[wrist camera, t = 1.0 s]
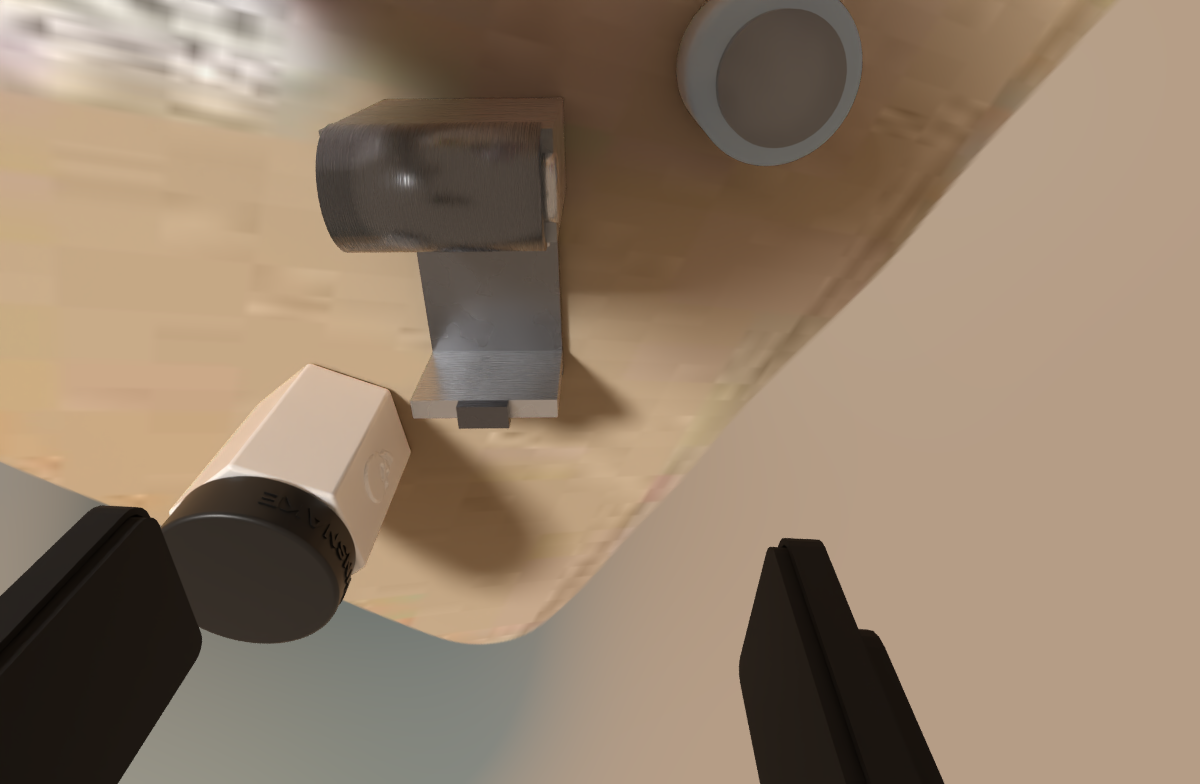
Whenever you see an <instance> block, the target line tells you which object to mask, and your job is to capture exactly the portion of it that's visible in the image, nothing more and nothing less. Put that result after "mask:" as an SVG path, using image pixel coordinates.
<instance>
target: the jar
mask: <svg viewBox="0 0 1200 784" xmlns="http://www.w3.org/2000/svg"><path fill="white" fill-rule="evenodd" d="M410 454H411V451H410V448H409V445H408V442H407V439H406V436H405V433H404V430H403V427H402V424H401V422H400V419H399V416H398V413H397V410H396V407H395V404H394V401H393V398H392V396H391V393H390V391H389V390H388V389H386V388H383V387H380V386H377V385H374V384H371V383H368V382H365V381H362V380H359V379H356V378H353V377H350V376H347V375H344V374H341V373H338V372H335V371H332V370H329V369H326V368H323V367H320V366H317V365H314V364H307V365H306V366H304V367H303V368H302V369H301V370H299V371H298V372H297V373H296V374H295V375H293V376H292V377H291V378H290V379H288V380H287V381H286V382H285V383H283V384H282V385H281V386H280V387H278V388H277V389H276V390H275V391H274V392H272V393H271V394H270V395H269V396H267V397H266V398H265V399H264V400H262V401H261V402H260V403H259V404H258V405H257V406H256V407H255V408H254V409H253V411H252V412H251V413H250V414H249V416H248V417H247V418H246V419H245V420H244V422H243V423H242V424H241V425H240V426H239V428H238V429H237V430H236V431H235V432H234V434H233V435H232V436H231V437H230V438H229V440H228V441H227V442H226V443H225V444H224V446H223V447H222V448H221V449H220V450H219V452H218V453H217V454H216V455H215V456H214V458H213V459H212V460H211V461H210V462H209V464H208V465H207V466H206V467H205V468H204V470H203V471H202V472H201V473H200V474H199V476H198V477H197V478H196V479H195V480H194V482H193V483H192V484H191V485H190V486H189V488H188V489H187V490H186V491H185V492H184V494H183V495H182V496H181V497H180V498H179V500H178V501H177V502H176V503H175V505H174V506H173V507H172V508H171V509H170V511H169V515H170V517H169V518H168V519H167V520H166V521H165V523H164V524H163V525H162V526H161V527H160V528H161V530H162V533H163V536H164V538H165V541H166V543H167V546H168V549H169V551H170V554H171V556H172V559H173V562H174V564H175V567H176V569H177V572H178V575H179V577H180V580H181V583H182V585H183V588H184V590H185V593H186V596H187V598H188V601H189V603H190V606H191V609H192V611H193V614H194V616H195V619H196V622H197V624H198V627H200V628H202V629H205V630H207V631H209V632H211V633H214V634H217V635H220V636H223V637H226V638H230V639H234V640H238V641H244V642H251V643H269V644H270V643H283V642H289V641H294V640H298V639H301V638H304V637H306V636H309V635H311V634H313V633H315V632H316V631H318V630H319V629H321V628H322V627H323V626H325V625H326V624H327V623H328V622H329V621H330V619H331V618H332V617H333V615H334V614H335V612H336V610H337V607H338V605H339V604H340V603H341V602H342V600H343V598H344V596H345V593H346V591H347V588H348V586H349V583H350V581H351V578H350V577H351V575H353V574H354V573H356V572H357V571H359V570H361V569H362V568H364V567H365V565H366V563H367V560H368V558H369V555H370V553H371V550H372V548H373V545H374V543H375V541H376V538H377V536H378V533H379V531H380V528H381V526H382V523H383V521H384V518H385V516H386V513H387V511H388V509H389V506H390V504H391V501H392V499H393V496H394V494H395V491H396V489H397V486H398V484H399V482H400V479H401V477H402V474H403V472H404V469H405V467H406V464H407V462H408V459H409V457H410Z"/></svg>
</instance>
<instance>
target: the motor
mask: <svg viewBox="0 0 1200 784" xmlns="http://www.w3.org/2000/svg"><path fill="white" fill-rule="evenodd" d="M319 135H320V138H319V142H318V146H317V153H316V183H317V191H318V198H319V203H320V208H321V211H322V215H323V218H324V221H325V224H326V227H327V229H328V232H329V234H330V236H331V238H332V239H333V241H334V243H335V244H336V245H337V246H338V247H339V248H340V249H341V250H342V251H344V252H347V253H358V252H417V256H418V263H419V269H420V275H421V281H422V288H423V294H424V300H425V306H426V313H427V319H428V325H429V331H430V337H431V344H432V350H433V352H432V355H431V357H430V359H429V361H428V363H427V365H426V367H425V370H424V372H423V374H422V376H421V378H420V380H419V382H418V385H417V387H416V389H415V391H414V393H413V395H412V398H411V400H410V404H411V409H412V415H413V418H458V425H459V429H461V428H509V427H510V422H511V419H510V418H530V417H558V411H559V401H560V390H561V380H562V375H563V348H562V324H561V301H560V277H559V253H558V235H559V229H560V223H561V217H562V211H563V205H564V199H565V193H566V169H565V139H564V110H563V98H469V99H384V100H382V101H380V102H378V103H375V104H373V105H371V106H369V107H367V108H365V109H363V110H361V111H359V112H356V113H354V114H352V115H350V116H348V117H346V118H344V119H342V120H340V121H338V122H335V123H332V124H328V125H327V126H326V127H325V128H323V129H321V130H319Z"/></svg>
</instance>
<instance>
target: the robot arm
mask: <svg viewBox="0 0 1200 784" xmlns="http://www.w3.org/2000/svg"><path fill="white" fill-rule="evenodd" d="M201 645H202V636H201V632H200V629H199V627H198V624H197V622H196V619H195V616H194V614H193V611H192V609H191V606H190V603H189V601H188V598H187V596H186V593H185V590H184V588H183V585H182V583H181V580H180V577H179V575H178V572H177V569H176V567H175V564H174V562H173V559H172V556H171V554H170V551H169V549H168V546H167V543H166V541H165V538H164V536H163V533H162V530H161V528H160V525H159V523H158V522H157V520H155V519H154V518H150V516H149V514H148V513H147V511H146V510H144V509H143V508H138V507H120V506H98V507H95V508H93V509H91V510H90V511H89V512H87V513H86V514H85V515H84V516H83V517H82V518H81V519H80V520H79V521H78V522H77V523H76V524H75V525H74V526H73V527H72V528H71V529H70V530H69V531H68V532H66V533H65V534H64V535H63V536H62V537H61V538H60V539H59V540H58V541H57V542H56V543H55V544H54V545H53V546H52V547H51V548H50V549H49V550H48V551H47V552H46V553H45V554H44V555H43V556H42V557H41V558H40V559H38V560H37V561H36V562H35V563H34V564H33V565H32V566H31V567H30V568H29V569H28V570H27V571H26V572H25V573H24V574H23V575H22V576H21V577H20V578H19V579H18V580H17V581H16V582H15V583H14V584H13V585H12V586H10V587H9V588H8V589H7V590H6V591H5V592H4V593H3V594H2V595H1V596H0V784H118V782H119V781H120V779H121V778H122V776H123V774H124V773H125V771H126V770H127V768H128V767H129V765H130V764H131V762H132V760H133V759H134V757H135V756H136V754H137V753H138V751H139V749H140V748H141V746H142V745H143V743H144V741H145V740H146V738H147V737H148V735H149V733H150V732H151V730H152V729H153V727H154V726H155V724H156V722H157V721H158V719H159V718H160V716H161V715H162V713H163V712H164V710H165V708H166V707H167V705H168V704H169V702H170V700H171V699H172V697H173V696H174V694H175V693H176V691H177V689H178V688H179V686H180V685H181V683H182V681H183V680H184V678H185V677H186V675H187V674H188V672H189V670H190V669H191V667H192V666H193V664H194V663H195V661H196V659H197V657H198V655H199V653H200V650H201ZM739 677H740V684H741V689H742V694H743V699H744V704H745V709H746V715H747V719H748V725H749V730H750V735H751V740H752V745H753V750H754V755H755V760H756V765H757V770H758V775H759V780H760V784H944V782H943V779H942V777H941V775H940V773H939V770H938V768H937V766H936V763H935V761H934V759H933V757H932V754H931V752H930V750H929V747H928V745H927V743H926V741H925V738H924V736H923V734H922V731H921V729H920V727H919V725H918V722H917V720H916V718H915V715H914V713H913V711H912V708H911V706H910V704H909V702H908V699H907V697H906V695H905V693H904V690H903V688H902V686H901V683H900V681H899V679H898V676H897V674H896V672H895V670H894V667H893V665H892V663H891V660H890V658H889V656H888V654H887V651H886V649H885V647H884V645H883V643H882V641H881V640H880V638H879V636H877V634H875V633H874V631H871V630H863V629H858V627H857V625H856V622H855V620H854V617H853V615H852V613H851V610H850V607H849V605H848V602H847V600H846V598H845V595H844V593H843V590H842V588H841V585H840V583H839V581H838V578H837V576H836V573H835V571H834V568H833V566H832V563H831V561H830V558H829V556H828V554H827V551H826V548H825V546H824V545H823V543H822V542H821V541H820V540H813V539H791V538H782V539H781V541H780V543H779V545H778V547H769V548H768V550H767V552H766V556H765V561H764V564H763V568H762V572H761V576H760V580H759V584H758V588H757V592H756V596H755V600H754V604H753V608H752V612H751V616H750V620H749V624H748V628H747V632H746V636H745V640H744V644H743V648H742V652H741V656H740V662H739Z"/></svg>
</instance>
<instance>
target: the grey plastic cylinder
mask: <svg viewBox="0 0 1200 784" xmlns="http://www.w3.org/2000/svg"><path fill="white" fill-rule="evenodd" d="M861 73H862V48H861V41H860V37H859V33H858V30H857V28H856V25H855V23H854V20H853V19H852V17H851V15H850V14H849V12H848V10H847V9H846V8H845V7H844V5H843V4H842V3H841V2H840V1H839V0H709V1H708V2H706V3H705V4H704V5H703V6H702V7H701V8H700V9H699V11H698V12H697V13H696V14H695V15H694V17H693V18H692V20H691V21H690V23H689V24H688V26H687V28H686V30H685V32H684V34H683V37H682V40H681V43H680V45H679V50H678V54H677V63H676V77H677V84H678V89H679V92H680V95H681V98H682V100H683V103H684V105H685V106H686V108H687V110H688V111H689V113H690V114H691V115H692V117H693V118H694V119H695V120H696V122H697V123H698V124H699V125H700V127H701V128H702V129H703V130H704V132H705V133H706V134H707V135H708V137H709V138H710V139H711V140H712V142H713V143H714V144H715V145H716V146H717V147H718V148H719V149H720V150H722V151H723V152H724V153H726V154H727V155H729V156H730V157H732V158H734V159H736V160H738V161H741V162H744V163H747V164H752V165H757V166H774V165H781V164H785V163H789V162H792V161H795V160H798V159H800V158H802V157H804V156H806V155H808V154H809V153H811V152H813V151H814V150H816V149H817V148H818V147H820V146H821V145H822V144H823V143H825V142H826V141H827V140H828V139H829V138H830V137H831V136H832V135H833V134H834V133H835V131H836V130H837V129H838V128H839V126H840V125H841V124H842V122H843V121H844V119H845V118H846V116H847V115H848V113H849V111H850V109H851V107H852V105H853V103H854V100H855V97H856V95H857V92H858V88H859V84H860V80H861Z"/></svg>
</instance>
